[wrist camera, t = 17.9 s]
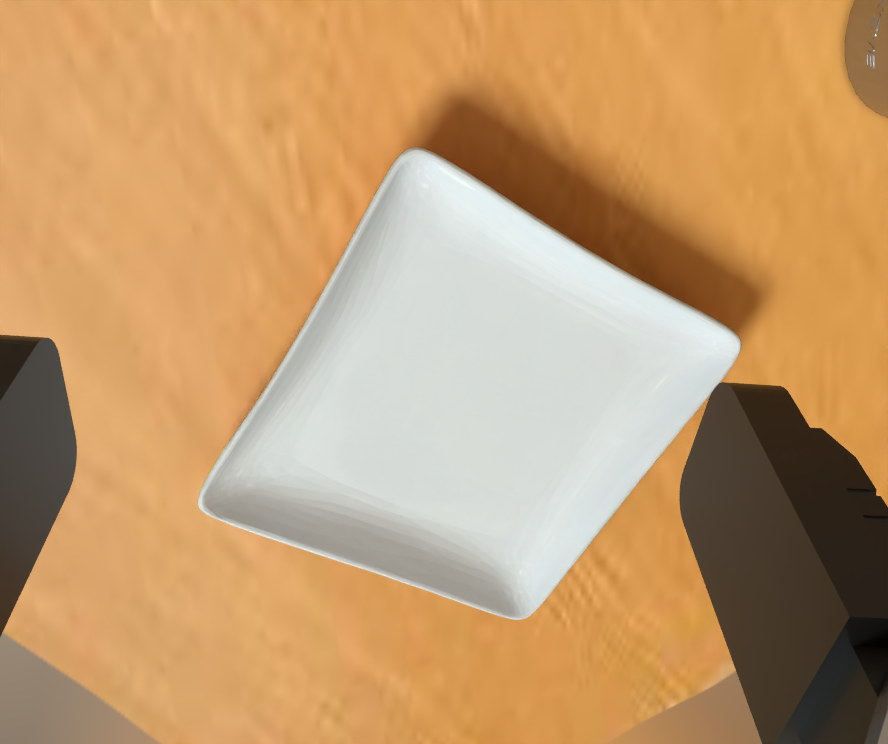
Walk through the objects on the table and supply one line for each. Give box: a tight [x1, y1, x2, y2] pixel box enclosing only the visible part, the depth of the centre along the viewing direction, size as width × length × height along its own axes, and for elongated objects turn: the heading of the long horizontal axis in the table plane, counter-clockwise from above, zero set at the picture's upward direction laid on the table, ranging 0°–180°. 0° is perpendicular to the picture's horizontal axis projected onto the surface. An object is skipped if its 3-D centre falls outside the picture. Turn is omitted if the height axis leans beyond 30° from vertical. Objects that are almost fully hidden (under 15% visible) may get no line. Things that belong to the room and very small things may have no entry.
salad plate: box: [198, 147, 741, 620], centre depth 44 cm, size 21×21×3 cm
